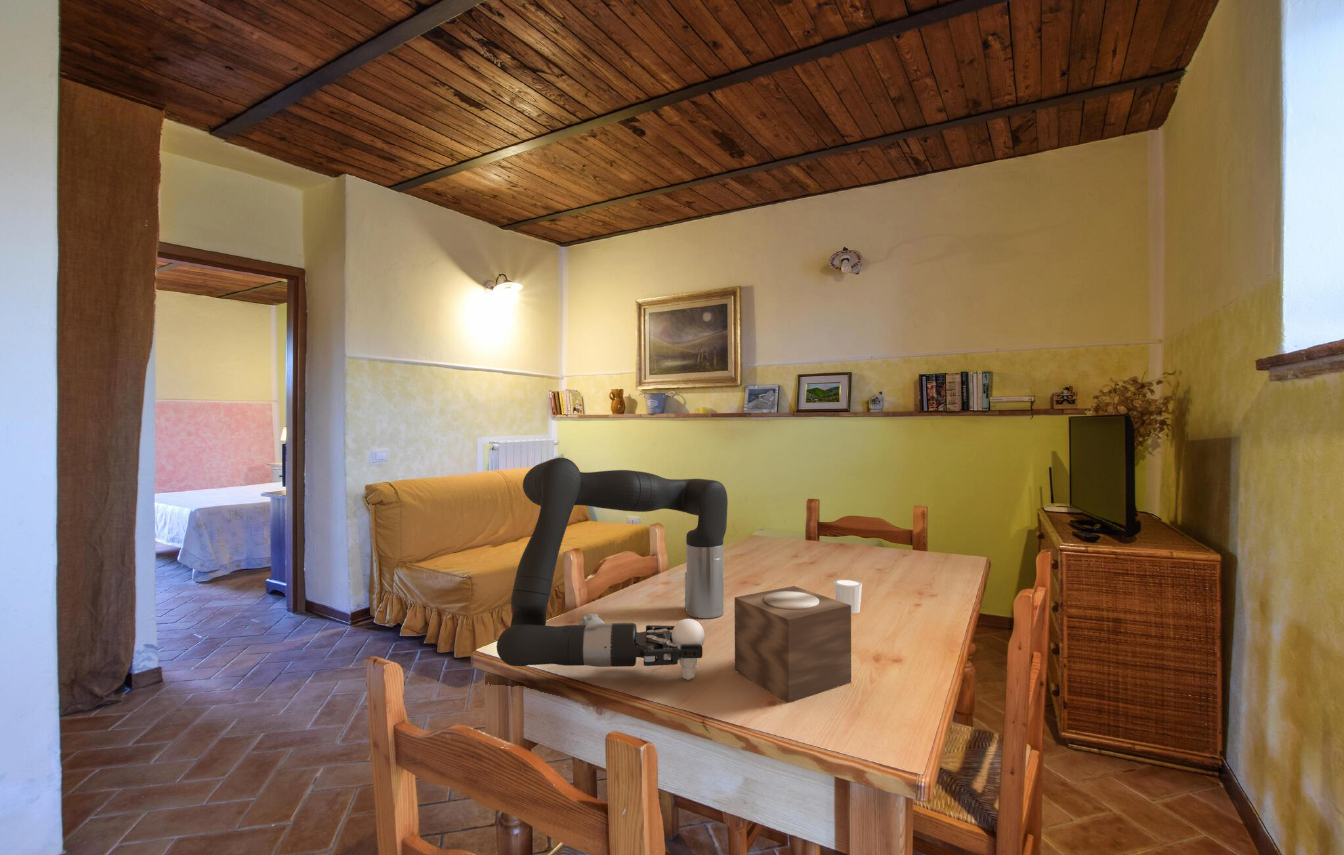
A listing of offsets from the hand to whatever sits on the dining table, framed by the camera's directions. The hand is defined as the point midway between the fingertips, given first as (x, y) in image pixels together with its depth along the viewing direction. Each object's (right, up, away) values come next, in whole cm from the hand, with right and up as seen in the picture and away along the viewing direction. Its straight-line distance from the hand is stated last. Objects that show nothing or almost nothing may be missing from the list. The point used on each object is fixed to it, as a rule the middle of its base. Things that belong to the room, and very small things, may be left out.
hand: (700, 643), depth 108 cm
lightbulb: (-2, -7, 0) cm, 7 cm away
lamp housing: (+17, -6, +1) cm, 18 cm away
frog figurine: (-22, -7, +15) cm, 27 cm away
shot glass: (+39, -6, +40) cm, 56 cm away
